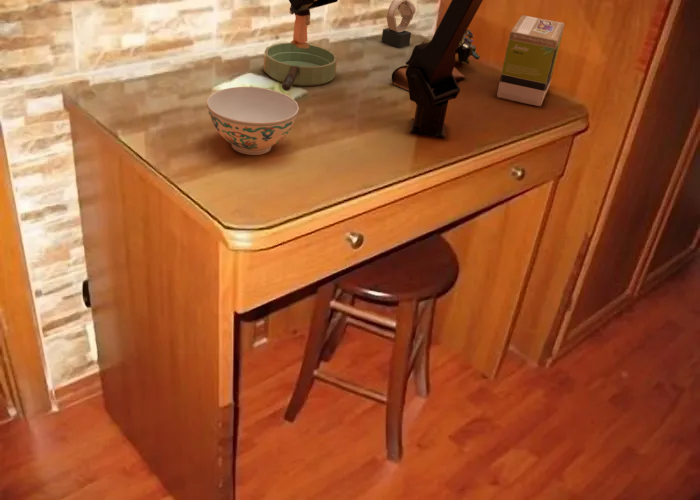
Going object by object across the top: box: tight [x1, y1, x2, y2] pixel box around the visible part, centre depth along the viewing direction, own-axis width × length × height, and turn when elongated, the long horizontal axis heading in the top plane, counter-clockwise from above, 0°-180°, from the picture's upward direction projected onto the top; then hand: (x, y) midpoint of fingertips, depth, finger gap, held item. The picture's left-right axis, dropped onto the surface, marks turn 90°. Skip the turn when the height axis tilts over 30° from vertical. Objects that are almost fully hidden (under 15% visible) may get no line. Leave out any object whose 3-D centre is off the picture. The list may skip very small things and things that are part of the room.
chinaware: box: [206, 86, 300, 156], centre depth 123 cm, size 15×15×8 cm
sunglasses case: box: [391, 64, 467, 92], centre depth 161 cm, size 18×7×7 cm, turn 139°
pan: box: [263, 42, 338, 87], centre depth 155 cm, size 15×15×4 cm
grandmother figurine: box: [289, 9, 311, 49], centre depth 149 cm, size 8×4×13 cm, turn 44°
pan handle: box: [281, 66, 299, 92], centre depth 144 cm, size 11×2×2 cm, turn 174°
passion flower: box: [420, 27, 481, 65], centre depth 170 cm, size 11×11×12 cm
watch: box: [381, 0, 417, 49], centre depth 179 cm, size 6×8×11 cm
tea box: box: [496, 14, 565, 107], centre depth 159 cm, size 15×10×15 cm, turn 160°
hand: (295, 10), depth 149 cm, fingers closed on grandmother figurine, 2 cm apart
